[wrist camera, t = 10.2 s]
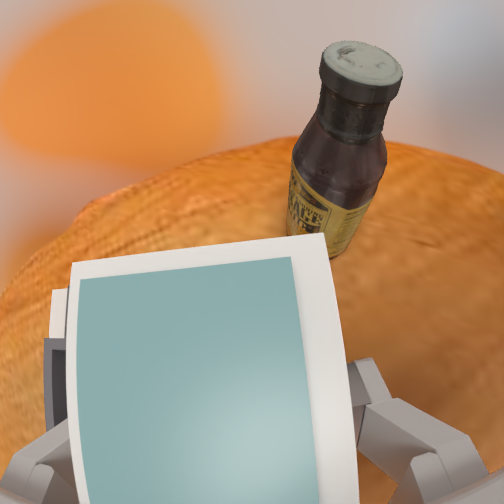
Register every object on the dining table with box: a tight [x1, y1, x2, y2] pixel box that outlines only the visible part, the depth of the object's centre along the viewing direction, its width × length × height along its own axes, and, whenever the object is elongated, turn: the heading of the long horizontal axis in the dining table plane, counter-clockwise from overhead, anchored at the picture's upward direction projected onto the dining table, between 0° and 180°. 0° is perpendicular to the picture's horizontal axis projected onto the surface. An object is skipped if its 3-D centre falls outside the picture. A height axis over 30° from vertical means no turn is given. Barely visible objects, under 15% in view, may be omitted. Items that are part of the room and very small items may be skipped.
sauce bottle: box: [286, 41, 403, 260], centre depth 22 cm, size 6×6×20 cm
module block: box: [66, 233, 359, 504], centre depth 8 cm, size 4×6×10 cm
